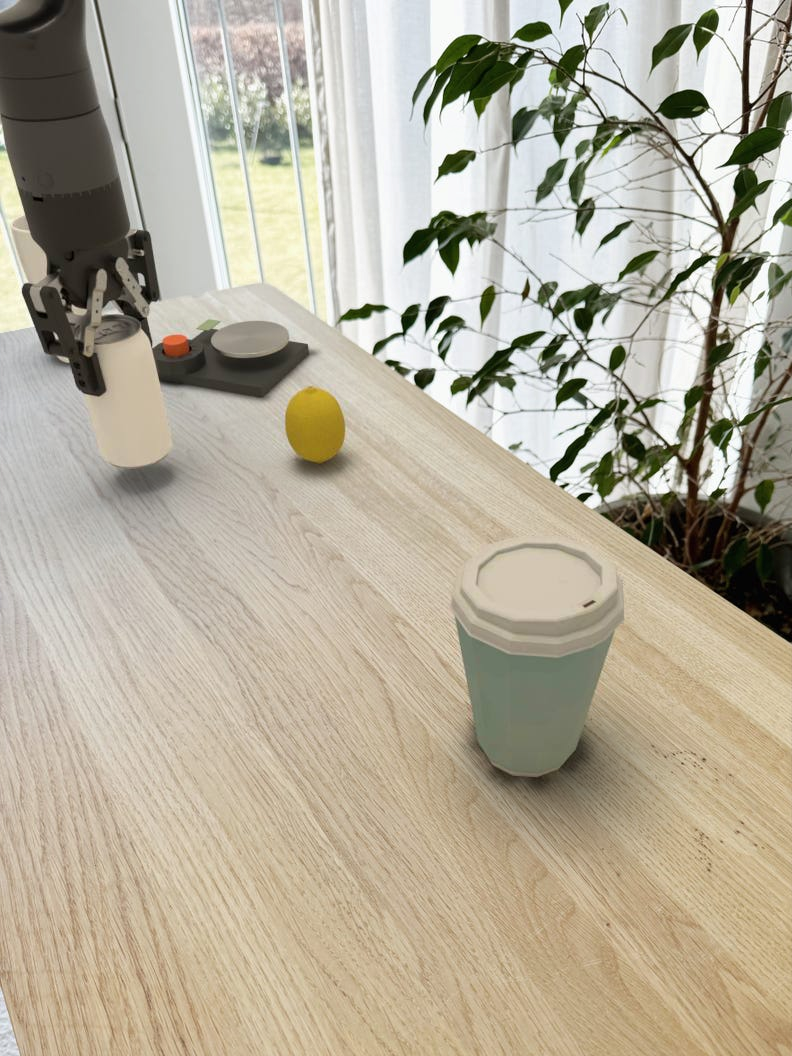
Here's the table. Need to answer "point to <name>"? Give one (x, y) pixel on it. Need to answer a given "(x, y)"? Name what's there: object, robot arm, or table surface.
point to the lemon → (315, 424)
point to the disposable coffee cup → (534, 645)
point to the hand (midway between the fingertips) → (118, 374)
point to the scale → (227, 367)
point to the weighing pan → (247, 338)
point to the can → (128, 396)
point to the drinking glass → (33, 259)
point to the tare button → (175, 345)
